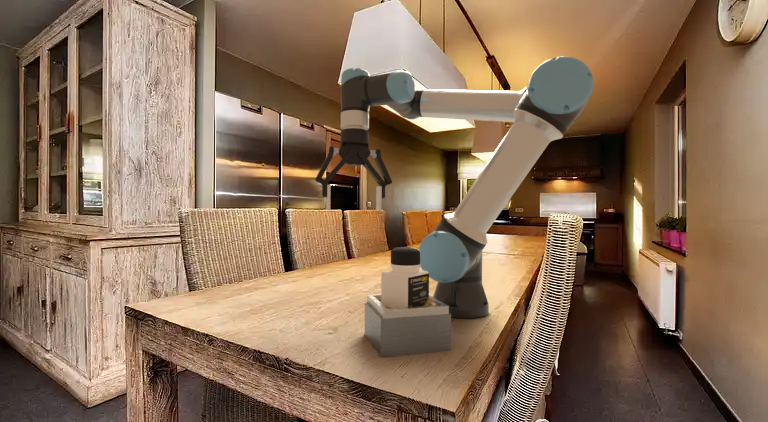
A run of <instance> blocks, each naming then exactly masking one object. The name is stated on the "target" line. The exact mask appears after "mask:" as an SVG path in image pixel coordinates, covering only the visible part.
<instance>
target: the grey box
mask: <svg viewBox="0 0 768 422" xmlns="http://www.w3.org/2000/svg"><path fill="white" fill-rule="evenodd" d="M364 336H365V337H366V339H367V340H368V342H369V343H370V345H371V346H372V348H373V349H374V350H375V352H376V353H377V354H378V356H379V357H380V358H387V357H388V358H390V357H396V356H408V355H415V354H427V353H436V352H446V351H451V349H452V347H451V345H452V344H451V341H452V338H451V337H452V317H451V313H449V306H448V305H446V304H444V303H442V302H441V301H439V300H437V299H435V298H434V297H433V296H432V295H430V294H429V305H428V306H420V307H405V308H387V307H385V306H384V305H383V304H382V303H381V293H375V294H371V293H370V294H367V295H366V301H364Z"/></svg>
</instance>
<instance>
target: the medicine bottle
mask: <svg viewBox="0 0 768 422" xmlns="http://www.w3.org/2000/svg"><path fill="white" fill-rule="evenodd" d="M418 249H419V248H416V247H412V246H400V247H399V246H397V247H394V248H392V249H391V250H390V268H391V269H388V270H383V271H381V274H380V275H381V276H380V277H381V278H380V279H381V280H380V281H381V282H380V283H381V286H380V287H381V289H380V290H381V291H380V294H381V303H382V304H383V305H384V306H385V307H387V308H405V307H420V306H428V305H429V295H430V277H429V272H428V271H423V270H422V269H421V267H420V250H418Z"/></svg>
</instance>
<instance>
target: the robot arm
mask: <svg viewBox="0 0 768 422" xmlns="http://www.w3.org/2000/svg"><path fill="white" fill-rule="evenodd" d="M592 73H593V72H592V70H591V69H590V68H589V66H588V65H587V63H585V62H584V61H582V60H580V59H579V58H577V57H573V56H568V55H567V56H565V55H561V56H557V57H553V58H549V59H547V60H545V61H544V62H542V63H541V64H539V65H538V66H537V67H536V68H535V70H534V71H533V72H532V73H531V76H530V77H529V80H528V82H527V86H525V87H524V88H523V89H521V90H516V91H515V90H481V89H480V90H479V89H478V90H477V89H476V90H473V89H433V88H432V89H430V88H429V89H428V88H427V89H421V88H416V86H415V81H414V78H413V75H412V74H411V72H409V71H407V70H402V71H392V72H388V73H387V72H386V73H383V74H376V75H370V73H369V71H367V70H366V69H365V68H364V69H363V68H362V67H361V68H360V67H355V68H354V67H350V68H348V69H347V68H346V69H345V70H344V71H343V72H342V73H341V80H340V81H341V83H340V86H339V87H340V88H339V89H340V128H341V131H339V132H340V133H339V134H340V135H339V137H340V141H339V142H340V143H339V147H334V146H329V147H328V149H327V156H326V157H325V160H324V162H323V163H322V165H321V167H320V169H319V171H318V173H317V175H316V177H315V178H314V181H315V183H318V184H320V185H321V195H322V198H325V211H330V210H331V184H328V183H329V182H331V180H332V179H333V178H334V177H335V176H336V175H337V173H338V172H339V171H340V170H341V169H342V167H343V166H344V165H346V166H348V167H349V166H356V167H360V166H362V167H364V169H366V171H367V172H368V173H369V175H370V176H371V178H373V179H374V181H375V182H376V183H377V184H378V186H376V187H375V188H376V190H375V192H376V193H375V202H376V203H375V204H376V205H375V210H376V211H377V212H379V211H382V200H383V199H385V197H386V186H388V185H390V184H391V185H392V183H393V179H392V178H391V175H390V173H389V171H388V169H387V167H386V165H385V163H384V161H383V158H382V154H381V149H379V148H377V149H375V150H373V149H372V150H371V149H370V132H369V131H368V130H369V129H370V107H378V106H379V107H380V106H387V107H389V109H392V110H393V111H394V112H396V113H397V114H399V115H400V116H401V117H402V118H404V119H407V120H416V119H419V118H431V119H433V118H437V119H449V120H450V119H454V120H465V121H466V120H470V121H485V122H486V121H487V122H488V121H489V122H503V123H506V122H507V123H513V124H511V127H510V128H509V129H508V131H507V132H506V134H505V136H504V137H503V138H502V140H501V141H500V143H499V144H498V146H497V147H496V149H495V150H494V152H493V153H492V155H491V156H490V158H489V159H488V161H487V162H486V164H485V165H484V167H483V169H481V171H480V173H479V174H478V176H476V179H475V180H474V181H473V183H472V185H471V187H469V189H468V190H467V192H466V194H465V195H464V196H463V198H462V199H461V201H460V203H459V204H458V206H457V207H456V208H455V210H454V211H453V212H451V213H445V214H444V215H443V216H442V218H441V219H440V221H439V222H438V223H437V225H436V226H435V228H434V230H433V231H432V232H430V233H429V234H427V235H426V236H425V237H424V238H423V239H422V241H421V242H420V244H419V246H418V248H417V249H418V250H420V269H421V270H422V271H428V272H429V279H431V280H432V281H435V282H437V284H436V286H435V289H434V292H433V296H432V297H434V298H435V299H437V300H439V301H441V302H442V303H444V304H446V305H448V306H449V313H451V318H454V319H455V318H456V319H475V318H482V317H485V316H488V315H489V311H490V308H489V302H488V298H487V294H486V292H485V288H484V285H483V250H484V249H485V247H486V246H487V244H488V238H487V232H488V231H489V229H490V228H491V227H492V225H493V224H494V223H495V221H496V219H497V218H498V217H499V215H500V214H501V212H502V211H503V210H504V208H505V207H506V205H507V204H508V203H509V201H510V199H511V198H512V197H513V195H514V194H515V192H516V191H517V190H518V188H519V187H520V185H521V184H522V183H523V181H524V179H526V177H527V175H528V174H529V172H531V170H532V168H533V167H534V166H535V164H536V163H537V161H538V159H540V157H541V155H542V154H543V152H544V151H545V150H546V149H547V147H548V145H549V144H550V143H551V142H553V141H556V140H560V139H563V138H564V136H565V134H566V133H567V132H568V130H569V129H570V127H571V126H572V125H573V124H574V123H576V122H577V121H578V120H579V119H580V118H581V117H582V115H583V114H584V112H585V110H586V108H587V104H588V103H589V99H590V98H591V96H592V95H593V91H594V77H593V74H592ZM337 154H339V156H340V158H341V160H339V162H338V163H337V164H336V165H335V167H334V168H333V169H332V170H331V171H330V172H329V173H328V175H326V177H324V178H323V176H324V175H325V173H326V170H327V168H328V167H329V165H330V163H331V161H332V160H333V157H335V156H337ZM370 156H371V157H372V158H373V159H374V161H375V163H376V166H377V168H378V171H379V172H380V174H381V175H380V174H379V172H378V171H377V170H376V169H375V168H374V167H373V164H372V163H371V162H370V160H369V159H368V158H369V157H370ZM381 176H382V177H381ZM376 211H375V212H376Z"/></svg>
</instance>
